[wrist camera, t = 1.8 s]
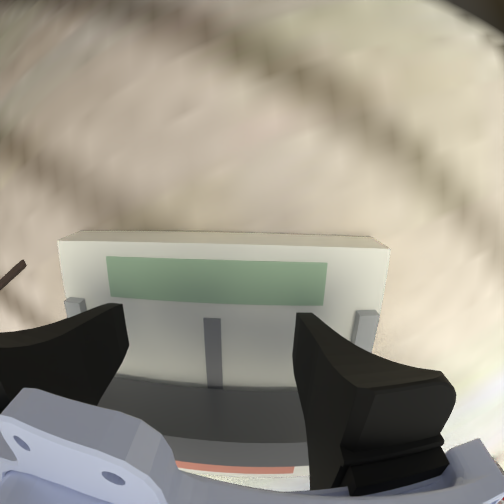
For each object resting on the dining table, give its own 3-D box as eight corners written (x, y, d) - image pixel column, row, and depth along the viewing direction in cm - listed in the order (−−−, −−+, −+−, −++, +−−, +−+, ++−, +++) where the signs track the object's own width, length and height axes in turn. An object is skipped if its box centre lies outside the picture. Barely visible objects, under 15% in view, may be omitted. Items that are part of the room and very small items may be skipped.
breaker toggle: (324, 415, 15) (335, 463, 11) (116, 401, 15) (94, 442, 11) (330, 389, 14) (344, 438, 11) (108, 375, 14) (82, 417, 11)
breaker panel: (326, 450, 20) (333, 479, 17) (128, 438, 20) (116, 464, 17) (371, 237, 15) (396, 252, 12) (81, 230, 15) (50, 243, 12)
